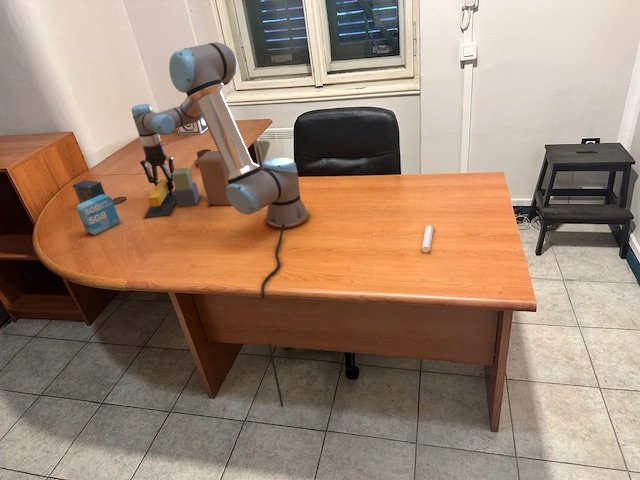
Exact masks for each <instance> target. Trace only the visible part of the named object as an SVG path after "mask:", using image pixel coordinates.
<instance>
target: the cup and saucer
mask: <svg viewBox="0 0 640 480" xmlns="http://www.w3.org/2000/svg"><path fill="white" fill-rule="evenodd" d="M207 151H212V150H211V149H210V148H209V149H208V148H207V149H201V150H198V151H197V152H196V157H197V158H195V160H193V164H194V165H195V166H198V167H199V165H198V159H199V158H200V157H201V156H203V155H204V154H205V153H206V152H207Z"/></svg>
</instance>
